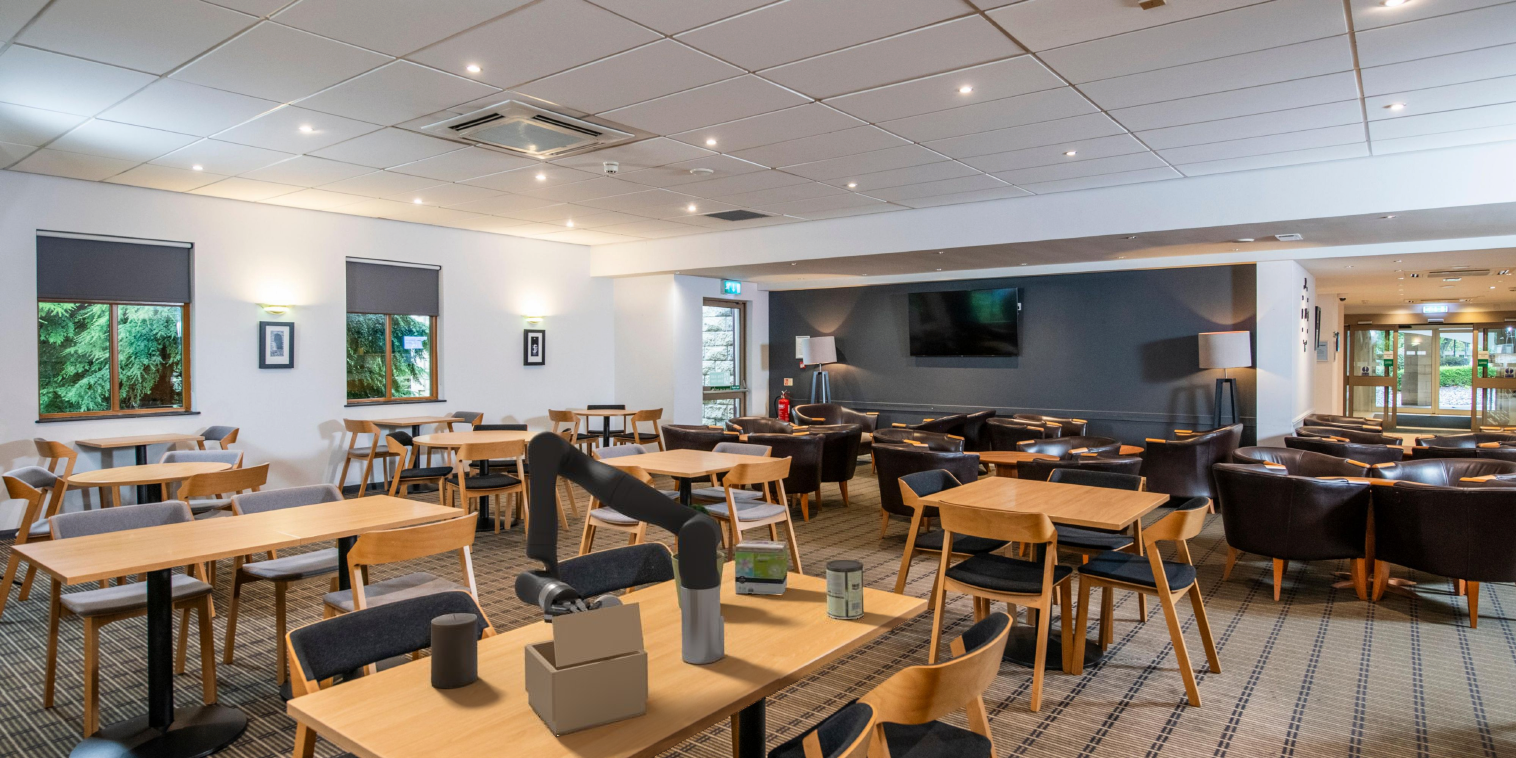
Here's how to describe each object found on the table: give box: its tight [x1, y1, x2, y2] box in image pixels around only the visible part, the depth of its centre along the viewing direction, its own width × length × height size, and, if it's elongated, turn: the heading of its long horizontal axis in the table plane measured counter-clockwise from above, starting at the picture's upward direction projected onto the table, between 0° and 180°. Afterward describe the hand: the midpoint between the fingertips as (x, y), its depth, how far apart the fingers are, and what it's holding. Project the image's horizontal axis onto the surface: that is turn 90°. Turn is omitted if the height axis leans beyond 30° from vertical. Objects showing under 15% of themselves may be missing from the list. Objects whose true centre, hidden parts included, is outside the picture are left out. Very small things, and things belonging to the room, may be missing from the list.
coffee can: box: [825, 559, 865, 620], centre depth 222 cm, size 10×10×14 cm
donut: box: [594, 594, 624, 608], centre depth 209 cm, size 10×3×10 cm, turn 129°
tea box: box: [734, 539, 788, 595], centre depth 248 cm, size 15×10×15 cm, turn 80°
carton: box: [524, 638, 649, 737], centre depth 161 cm, size 19×19×12 cm
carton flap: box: [551, 601, 645, 667], centre depth 154 cm, size 17×9×1 cm
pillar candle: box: [430, 612, 479, 689], centre depth 178 cm, size 10×10×15 cm
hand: (588, 622), depth 159 cm, fingers closed
